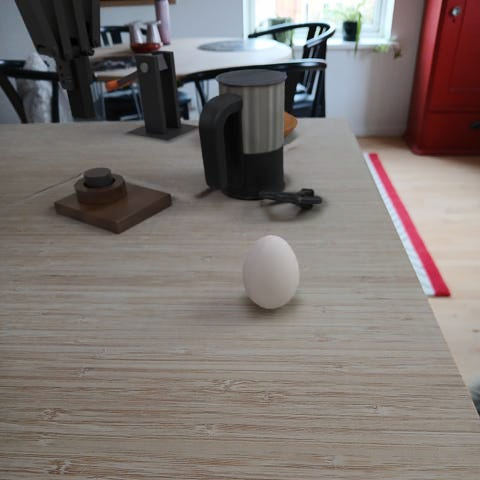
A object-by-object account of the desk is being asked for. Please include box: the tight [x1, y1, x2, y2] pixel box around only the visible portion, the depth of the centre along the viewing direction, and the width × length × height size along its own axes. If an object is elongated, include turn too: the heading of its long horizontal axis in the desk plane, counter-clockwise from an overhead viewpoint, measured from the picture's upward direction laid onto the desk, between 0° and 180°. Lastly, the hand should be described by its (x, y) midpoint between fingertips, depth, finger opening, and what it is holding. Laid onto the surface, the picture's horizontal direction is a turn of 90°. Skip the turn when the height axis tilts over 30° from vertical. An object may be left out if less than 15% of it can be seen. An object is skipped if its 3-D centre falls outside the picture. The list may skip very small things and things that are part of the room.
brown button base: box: [53, 172, 173, 235], centre depth 68 cm, size 12×10×4 cm
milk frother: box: [198, 68, 323, 210], centre depth 66 cm, size 14×16×15 cm
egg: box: [242, 234, 300, 310], centre depth 48 cm, size 5×5×7 cm
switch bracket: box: [127, 49, 199, 142], centre depth 91 cm, size 10×9×14 cm
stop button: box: [83, 166, 113, 188], centre depth 68 cm, size 4×4×2 cm
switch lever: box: [104, 54, 167, 92], centre depth 91 cm, size 13×5×2 cm, turn 55°
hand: (83, 115), depth 63 cm, fingers closed
